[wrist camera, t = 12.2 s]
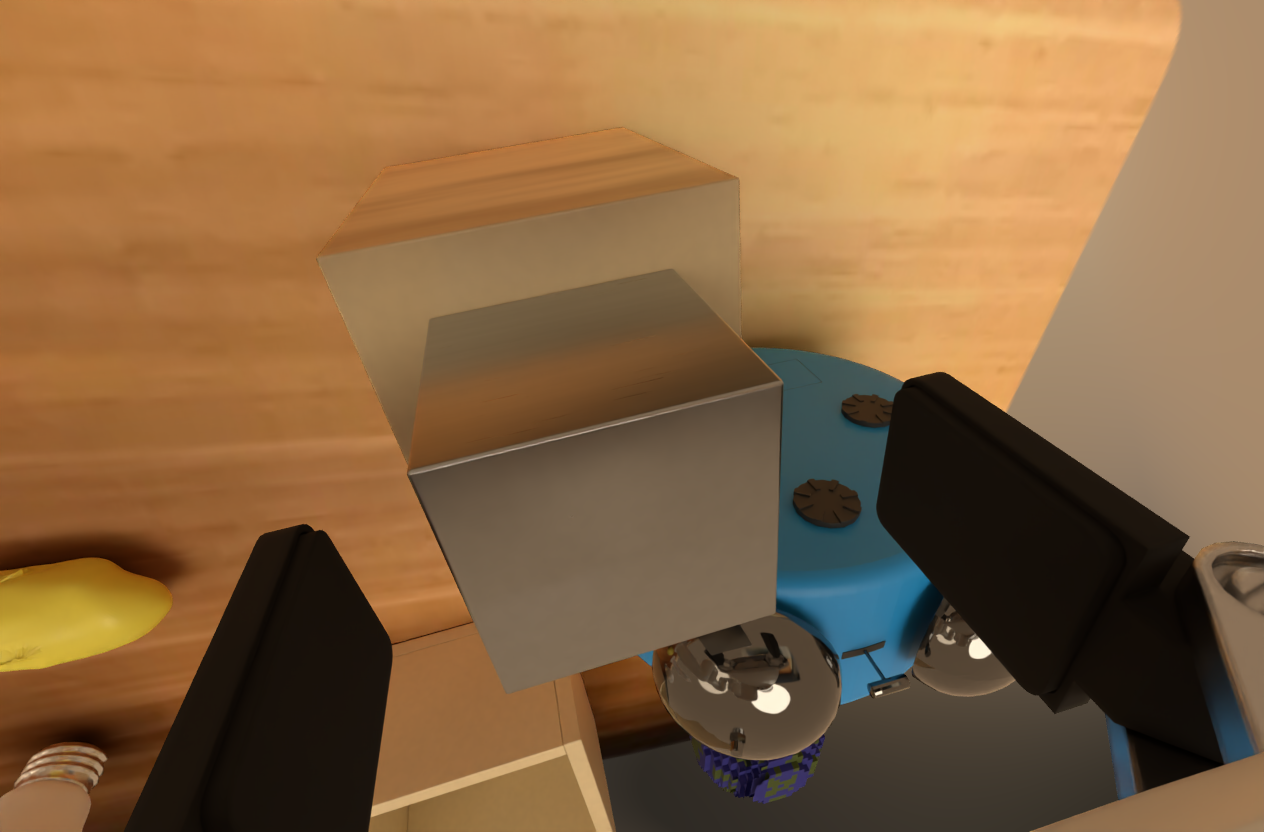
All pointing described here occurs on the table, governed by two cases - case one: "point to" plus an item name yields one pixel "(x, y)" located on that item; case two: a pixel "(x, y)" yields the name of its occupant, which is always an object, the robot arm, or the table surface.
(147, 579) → the yellow potato
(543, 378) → the steel block
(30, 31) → the table surface
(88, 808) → the light bulb
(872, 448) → the alarm clock
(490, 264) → the block
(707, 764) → the ball
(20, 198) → the table surface
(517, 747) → the open storage bin
